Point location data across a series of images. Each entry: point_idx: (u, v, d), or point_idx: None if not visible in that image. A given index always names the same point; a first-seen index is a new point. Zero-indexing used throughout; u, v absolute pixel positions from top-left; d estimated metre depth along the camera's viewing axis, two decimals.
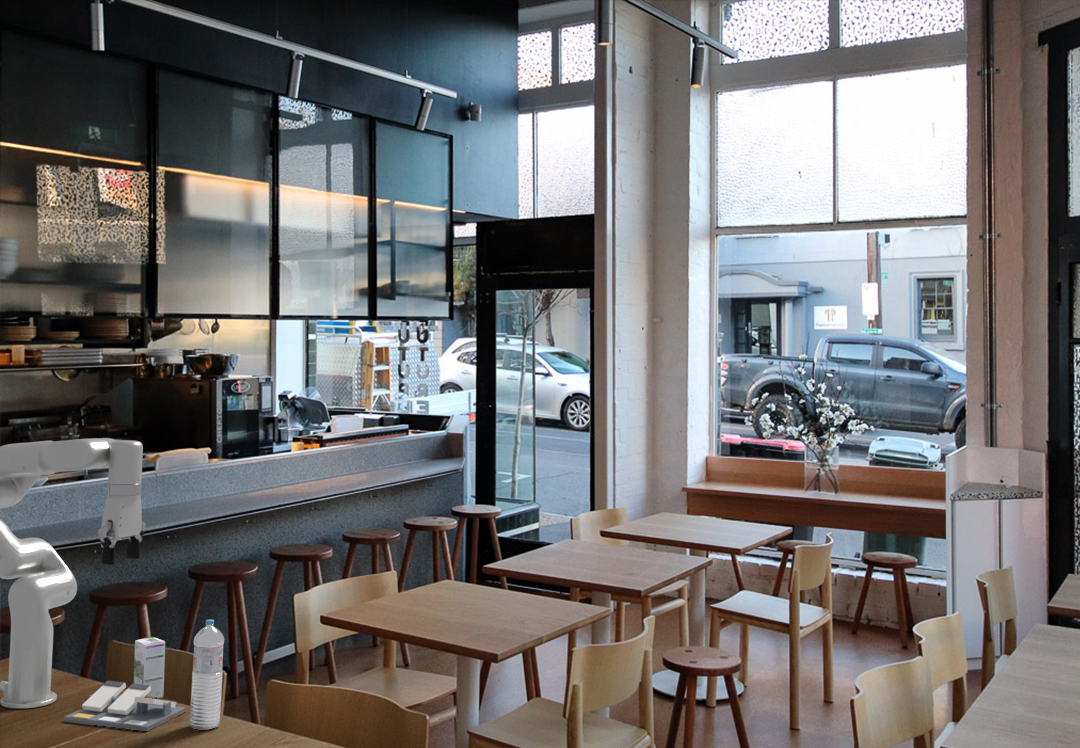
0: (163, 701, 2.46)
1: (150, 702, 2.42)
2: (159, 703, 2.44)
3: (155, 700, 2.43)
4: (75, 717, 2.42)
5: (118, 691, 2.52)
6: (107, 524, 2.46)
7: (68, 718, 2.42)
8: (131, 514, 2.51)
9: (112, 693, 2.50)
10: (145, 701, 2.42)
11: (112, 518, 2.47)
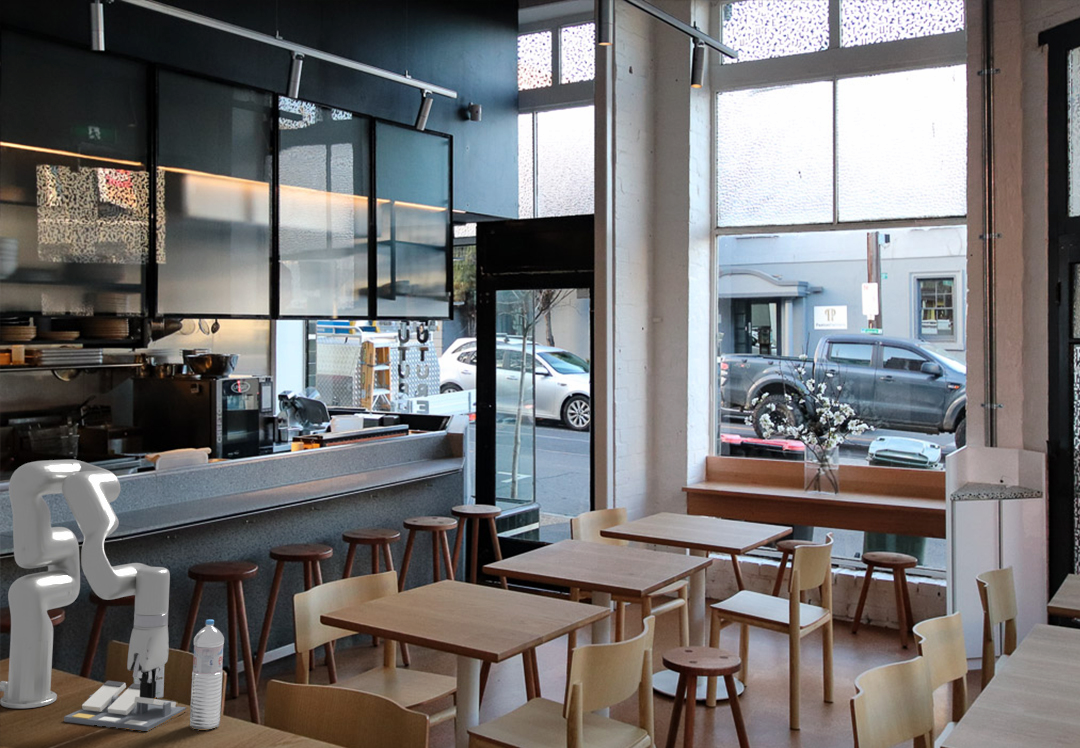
0: (163, 701, 2.46)
1: (150, 702, 2.42)
2: (159, 703, 2.44)
3: (155, 700, 2.43)
4: (75, 717, 2.42)
5: (118, 691, 2.52)
6: (137, 664, 2.39)
7: (68, 718, 2.42)
8: (158, 645, 2.43)
9: (112, 693, 2.50)
10: (145, 701, 2.42)
11: (139, 651, 2.39)
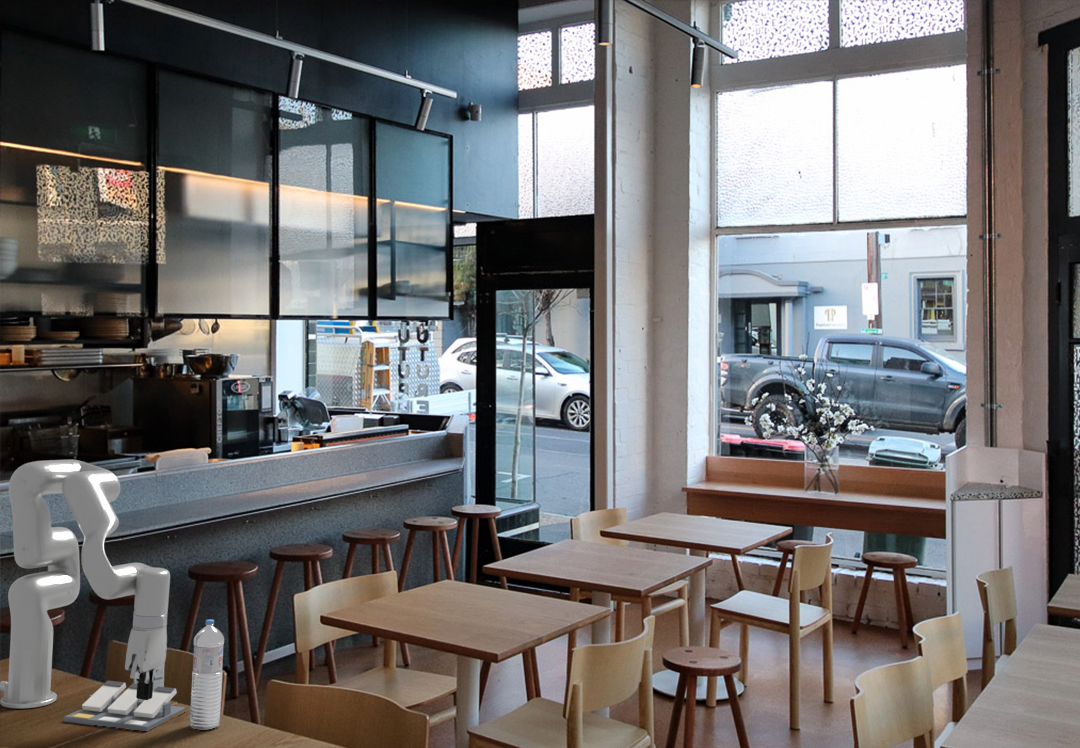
0: (162, 703, 2.46)
1: (150, 716, 2.42)
2: (159, 709, 2.45)
3: (154, 713, 2.43)
4: (75, 717, 2.42)
5: (118, 691, 2.52)
6: (134, 664, 2.40)
7: (68, 718, 2.42)
8: (156, 646, 2.43)
9: (112, 693, 2.50)
10: (145, 716, 2.43)
11: (137, 652, 2.39)
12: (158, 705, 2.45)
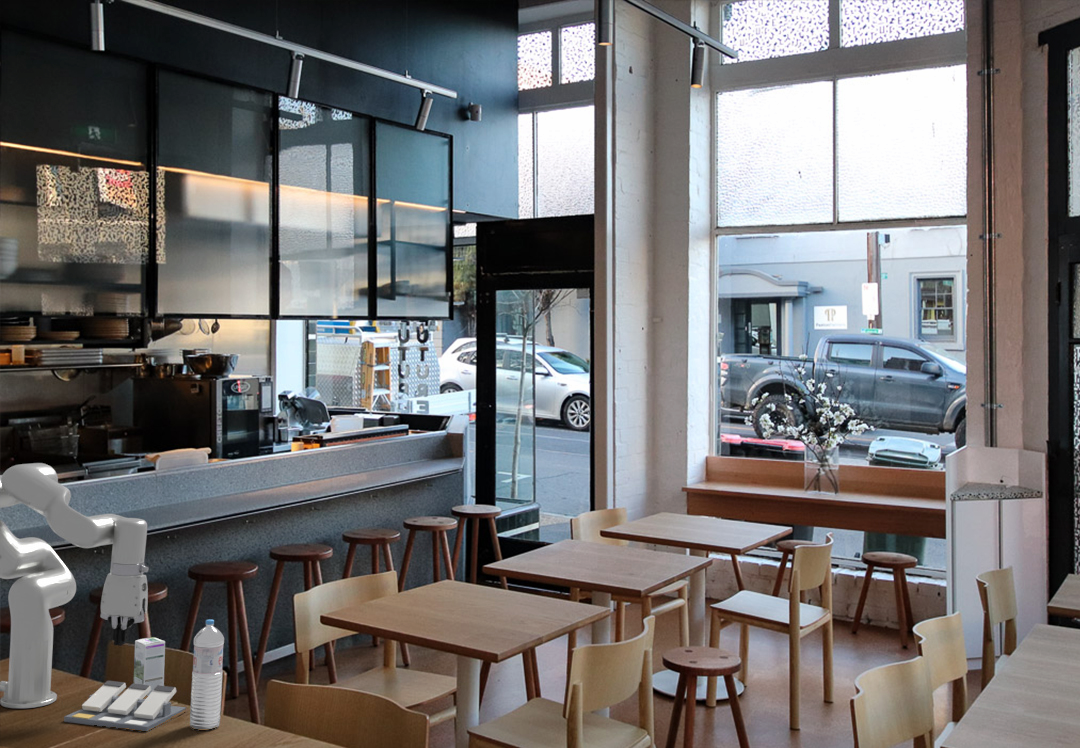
0: (162, 704, 2.46)
1: (150, 718, 2.42)
2: (159, 710, 2.45)
3: (154, 714, 2.43)
4: (75, 717, 2.42)
5: (118, 691, 2.52)
6: None
7: (68, 718, 2.42)
8: (118, 593, 2.50)
9: (112, 693, 2.50)
10: (145, 717, 2.43)
11: None
12: (158, 706, 2.45)
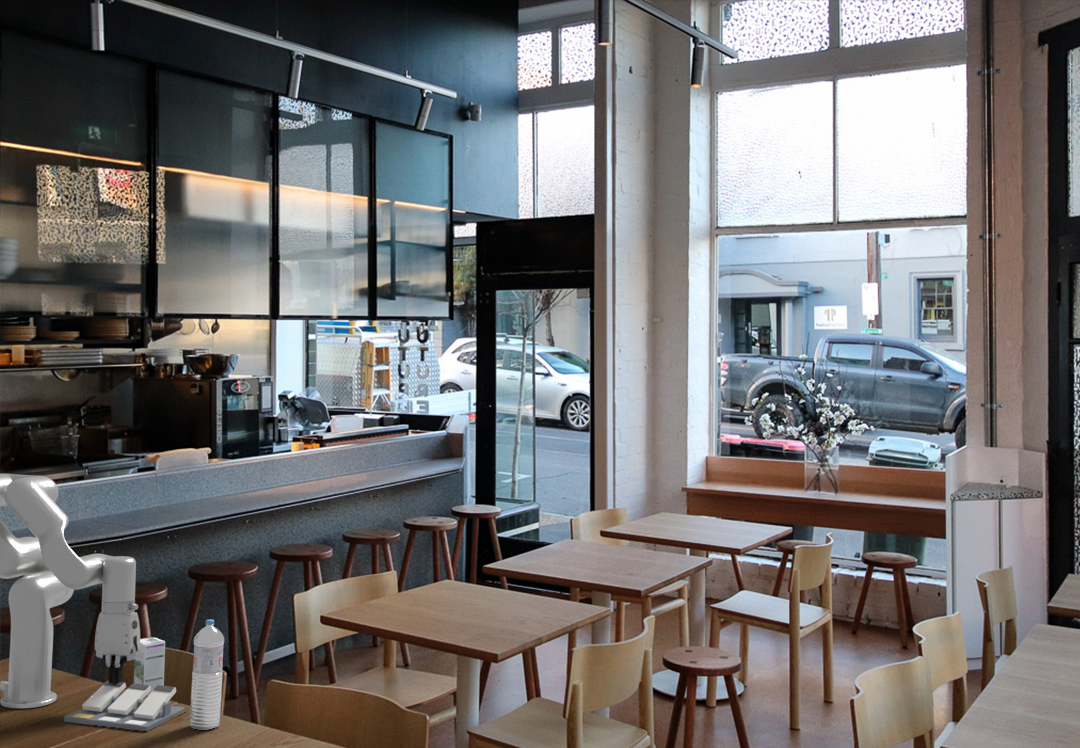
0: (162, 704, 2.46)
1: (150, 718, 2.42)
2: (159, 710, 2.45)
3: (154, 714, 2.43)
4: (75, 717, 2.42)
5: (118, 691, 2.52)
6: None
7: (68, 718, 2.42)
8: (109, 632, 2.52)
9: (112, 693, 2.50)
10: (145, 717, 2.43)
11: None
12: (158, 706, 2.45)
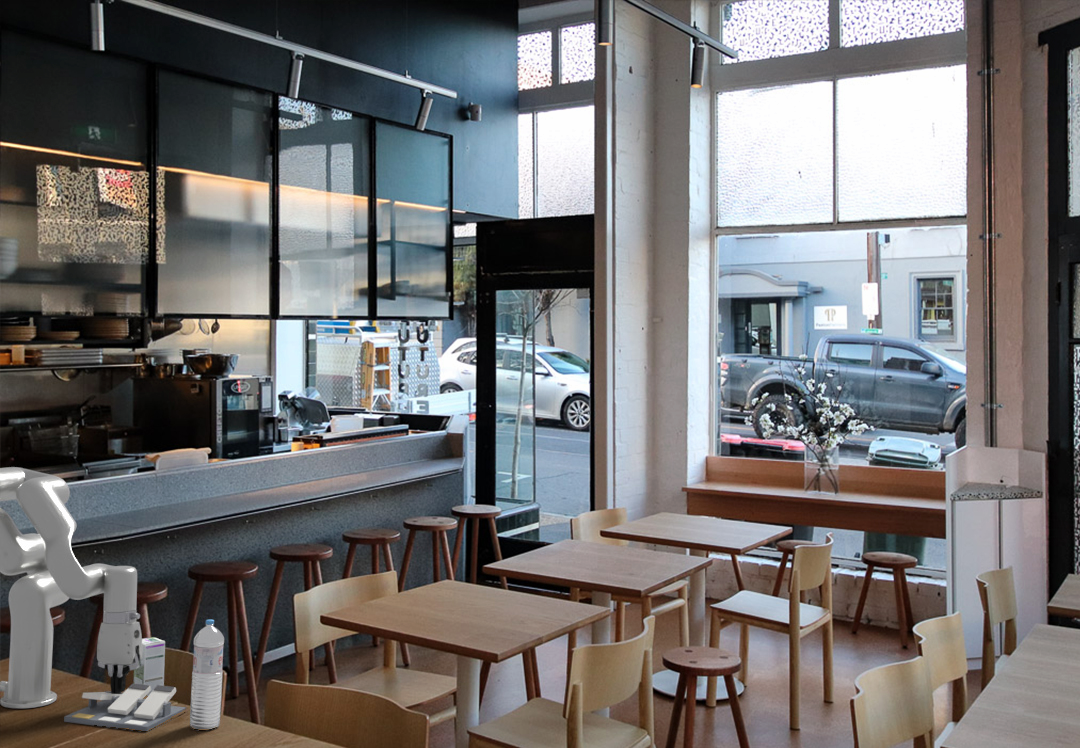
0: (162, 704, 2.46)
1: (150, 718, 2.42)
2: (159, 710, 2.45)
3: (154, 714, 2.43)
4: (75, 717, 2.42)
5: None
6: None
7: (68, 718, 2.42)
8: (111, 642, 2.52)
9: (113, 694, 2.51)
10: (145, 717, 2.43)
11: None
12: (158, 706, 2.45)
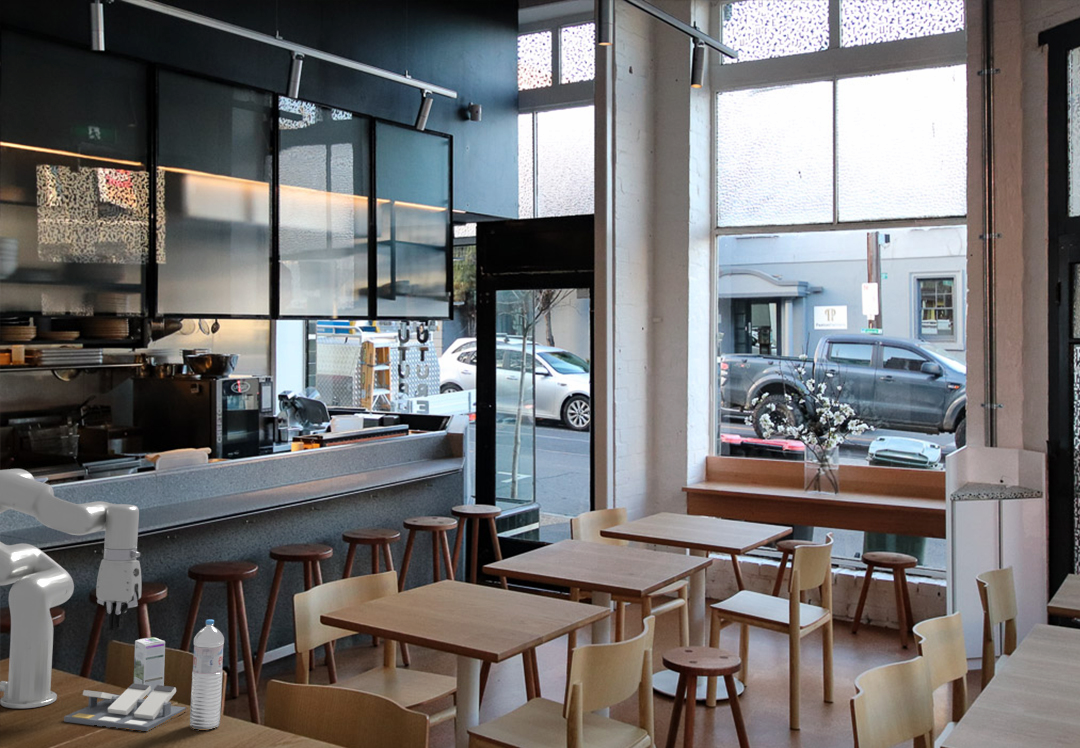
0: (162, 704, 2.46)
1: (150, 718, 2.42)
2: (159, 710, 2.45)
3: (154, 714, 2.43)
4: (75, 717, 2.42)
5: None
6: None
7: (68, 718, 2.42)
8: (111, 578, 2.53)
9: (113, 694, 2.51)
10: (145, 717, 2.43)
11: None
12: (158, 706, 2.45)
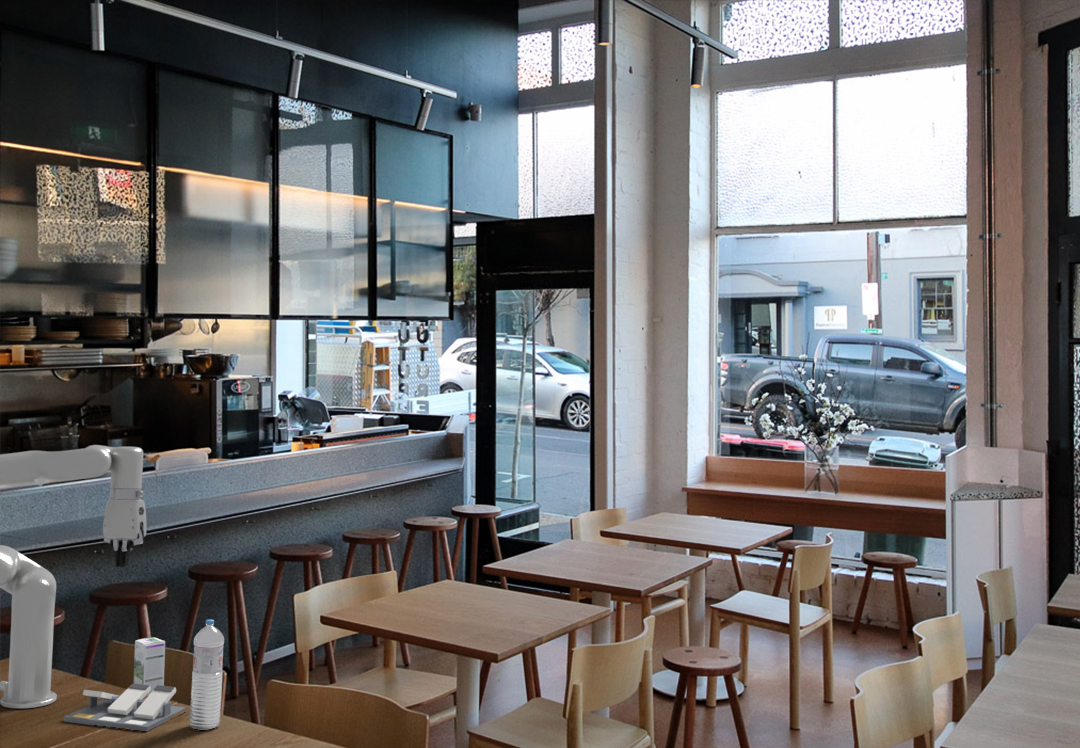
0: (162, 704, 2.46)
1: (150, 718, 2.42)
2: (159, 710, 2.45)
3: (154, 714, 2.43)
4: (75, 717, 2.42)
5: None
6: None
7: (68, 718, 2.42)
8: (117, 517, 2.63)
9: (113, 694, 2.51)
10: (145, 717, 2.43)
11: None
12: (158, 706, 2.45)
